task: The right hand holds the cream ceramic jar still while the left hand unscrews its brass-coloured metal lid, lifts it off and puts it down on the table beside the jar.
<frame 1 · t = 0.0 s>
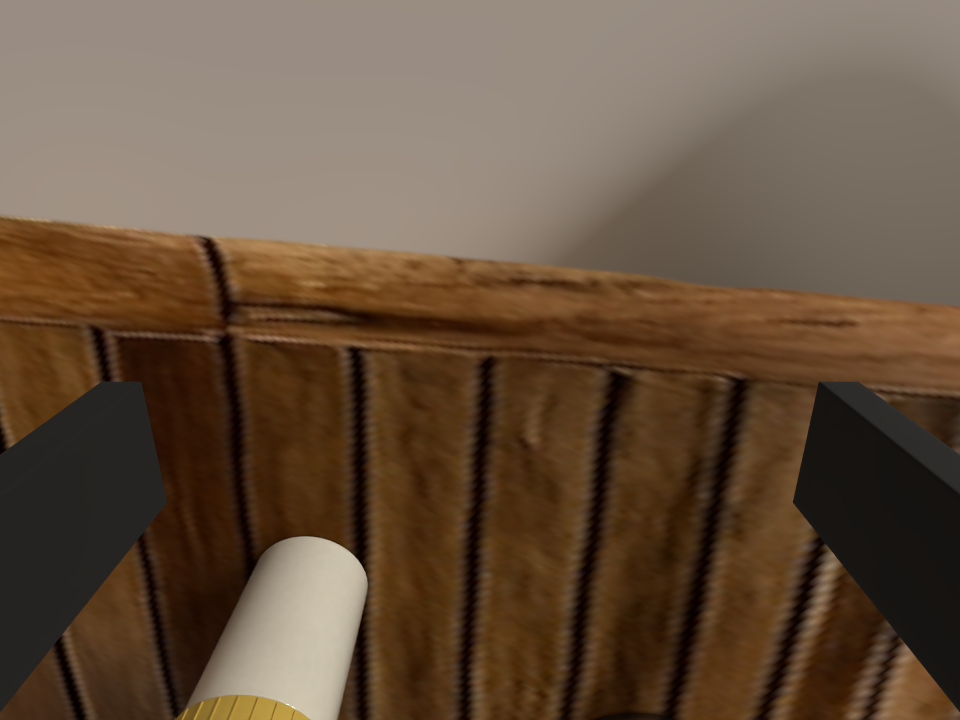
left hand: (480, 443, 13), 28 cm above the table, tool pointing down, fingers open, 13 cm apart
jar: (311, 582, 49), on the table
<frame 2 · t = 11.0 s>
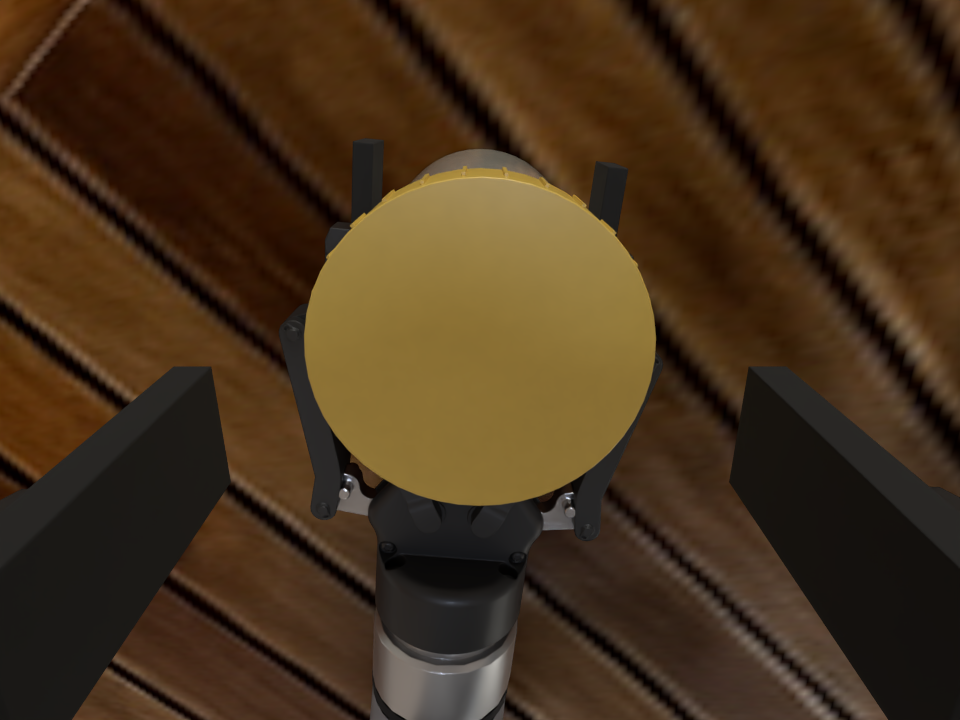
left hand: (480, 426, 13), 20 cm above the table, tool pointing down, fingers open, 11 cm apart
jar: (479, 239, 32), on the table, touching right hand
lid: (479, 353, 17), point 16 cm above the table, screwed on, not yet turned
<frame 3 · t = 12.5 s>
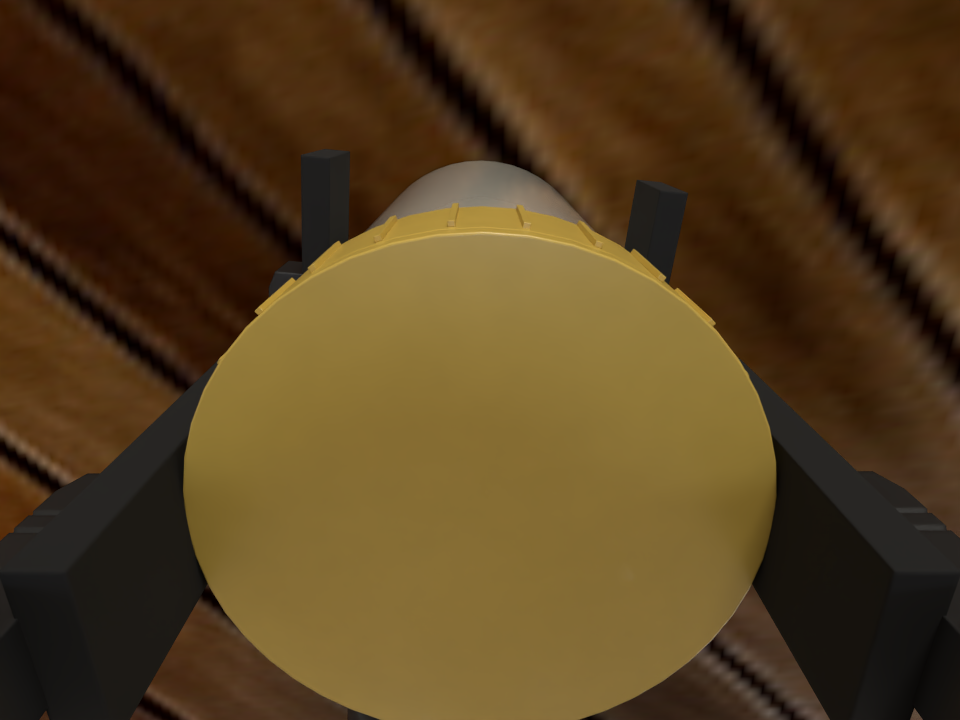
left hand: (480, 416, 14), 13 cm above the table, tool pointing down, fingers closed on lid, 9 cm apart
jar: (480, 275, 25), on the table, touching right hand
lid: (479, 513, 10), point 16 cm above the table, screwed on, not yet turned, touching left hand
when the left hand's fingers open (13 cm above the table, at t = 14.0 s): lid stays where it is, point 16 cm above the table.
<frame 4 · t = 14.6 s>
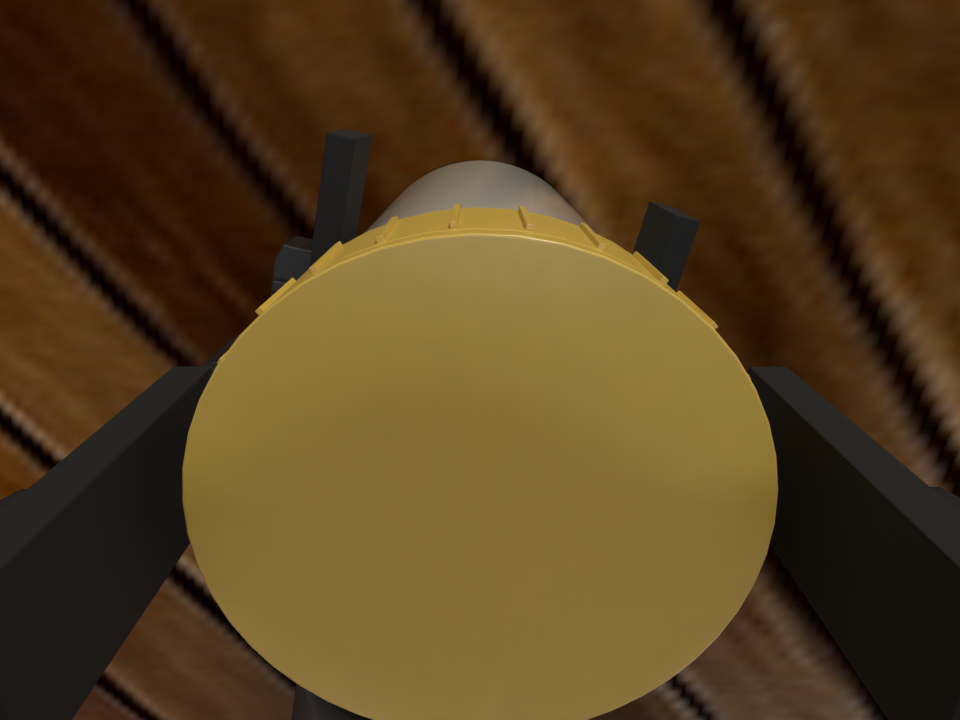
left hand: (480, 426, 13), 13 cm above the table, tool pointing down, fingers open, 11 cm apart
jar: (480, 274, 25), on the table, touching right hand
lid: (479, 515, 10), point 16 cm above the table, turned 84° so far, risen 0.2 cm, still on its thread
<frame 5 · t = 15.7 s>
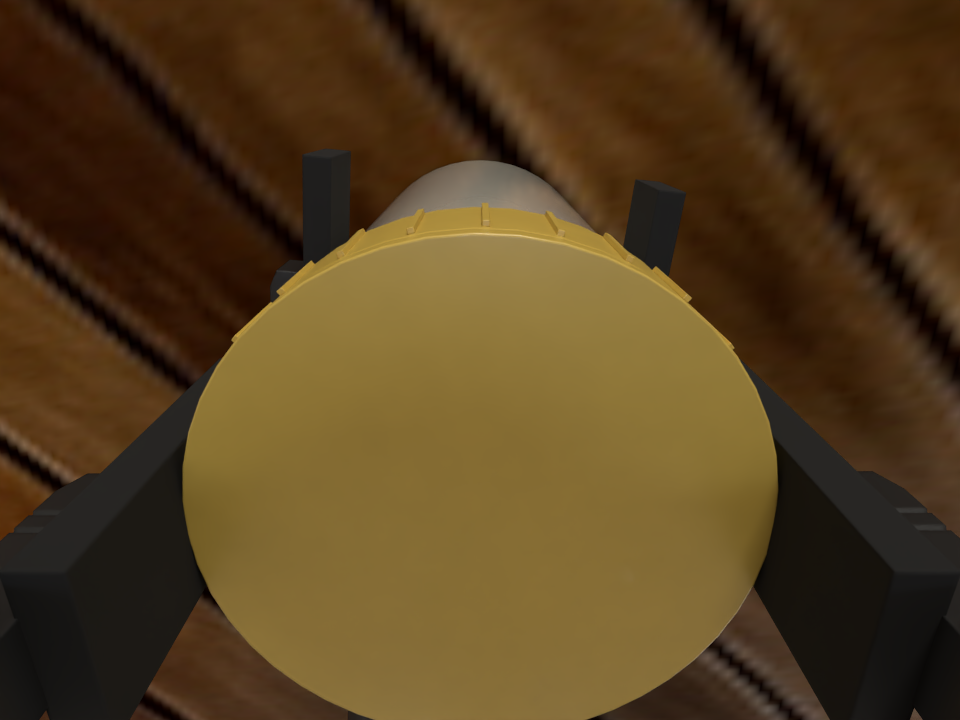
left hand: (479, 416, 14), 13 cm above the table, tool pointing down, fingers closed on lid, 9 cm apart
jar: (479, 274, 25), on the table, touching right hand
lid: (480, 515, 10), point 16 cm above the table, turned 84° so far, risen 0.2 cm, still on its thread, touching left hand
when the left hand's fingers open (0 cm above the table, at t = 21.8 s): lid drops 2 cm, point 2 cm above the table.
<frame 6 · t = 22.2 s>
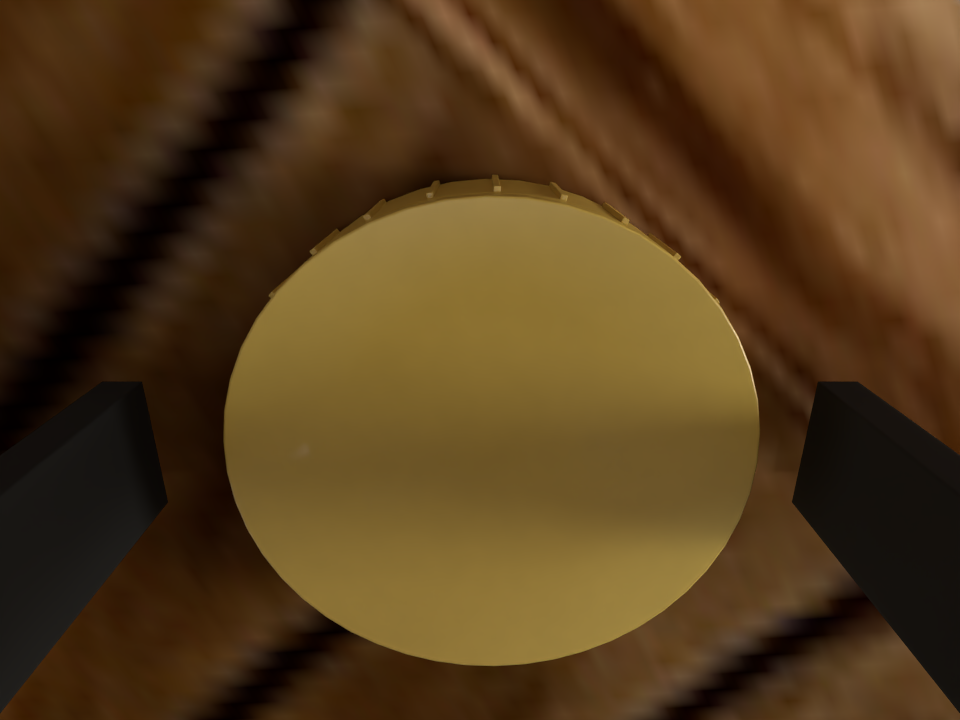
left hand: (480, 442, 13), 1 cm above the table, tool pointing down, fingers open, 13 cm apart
lid: (490, 457, 11), point 2 cm above the table, off its thread
when the right hand's fingers open (6 cm above the table, at t = 22.9 s): jar stays where it is, on the table.
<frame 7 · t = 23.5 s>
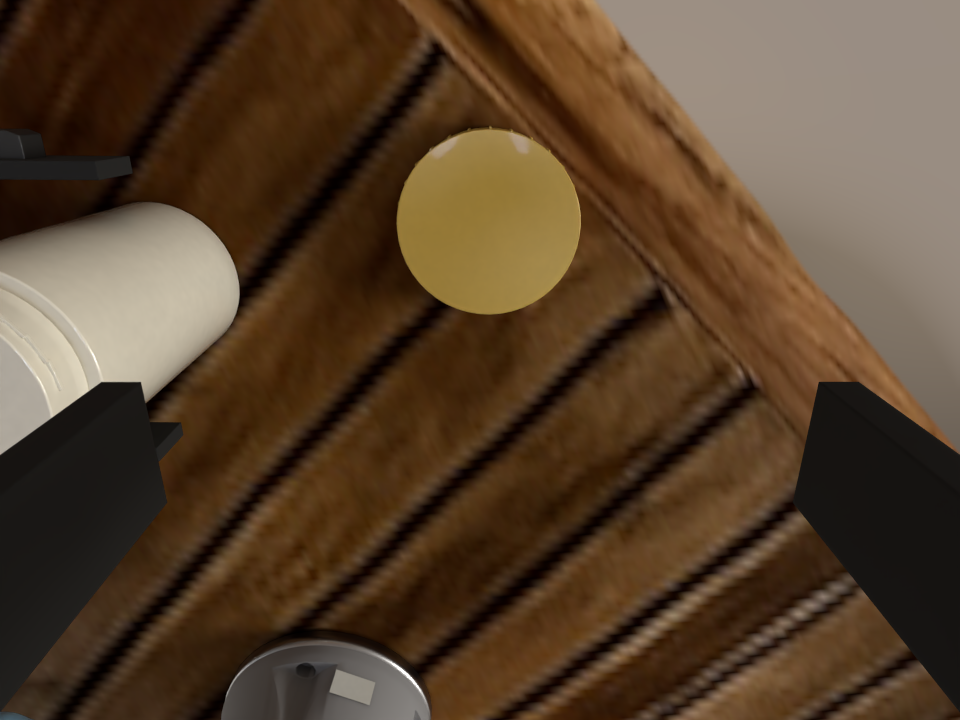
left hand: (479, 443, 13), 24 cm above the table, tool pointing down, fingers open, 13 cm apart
jar: (161, 280, 36), on the table
lid: (488, 225, 32), point 2 cm above the table, off its thread
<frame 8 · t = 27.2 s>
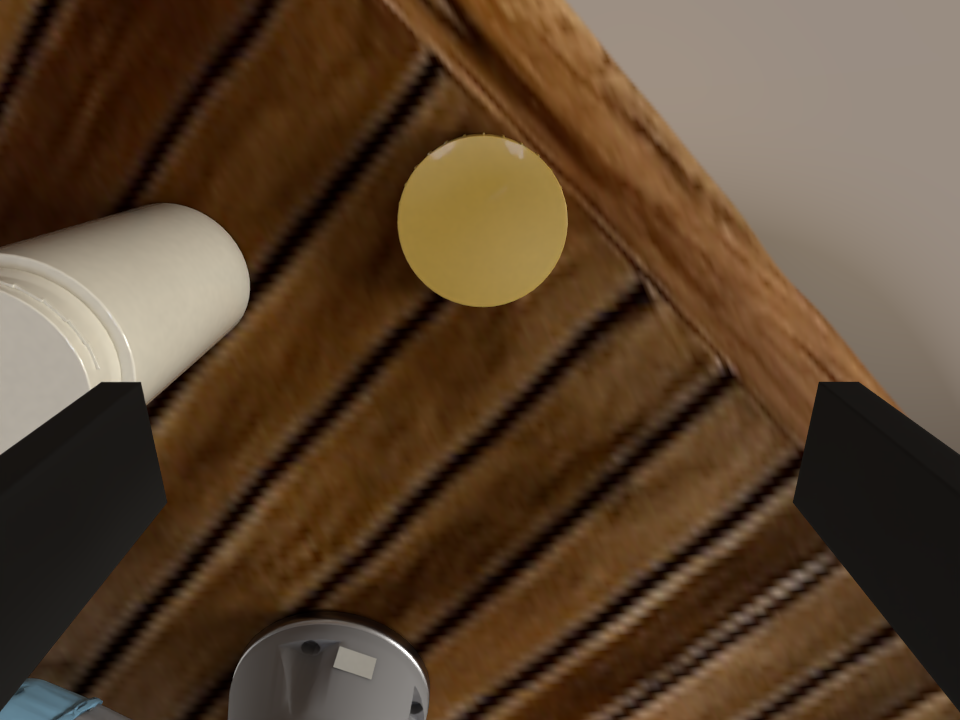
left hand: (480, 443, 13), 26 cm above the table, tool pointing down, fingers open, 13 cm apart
jar: (177, 276, 38), on the table
lid: (482, 224, 35), point 2 cm above the table, off its thread
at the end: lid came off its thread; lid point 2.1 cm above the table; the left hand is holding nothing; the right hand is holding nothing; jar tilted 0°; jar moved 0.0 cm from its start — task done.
